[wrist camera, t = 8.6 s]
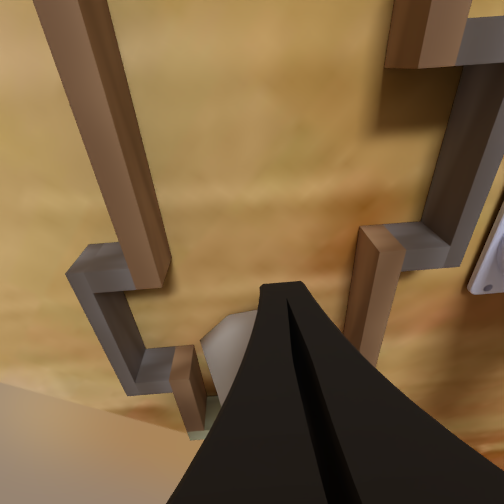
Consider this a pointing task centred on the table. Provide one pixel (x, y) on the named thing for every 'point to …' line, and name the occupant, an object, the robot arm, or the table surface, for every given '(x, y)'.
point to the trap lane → (370, 237)
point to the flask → (227, 349)
